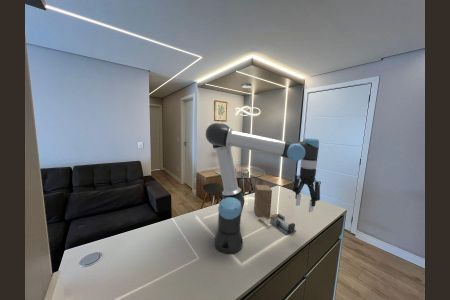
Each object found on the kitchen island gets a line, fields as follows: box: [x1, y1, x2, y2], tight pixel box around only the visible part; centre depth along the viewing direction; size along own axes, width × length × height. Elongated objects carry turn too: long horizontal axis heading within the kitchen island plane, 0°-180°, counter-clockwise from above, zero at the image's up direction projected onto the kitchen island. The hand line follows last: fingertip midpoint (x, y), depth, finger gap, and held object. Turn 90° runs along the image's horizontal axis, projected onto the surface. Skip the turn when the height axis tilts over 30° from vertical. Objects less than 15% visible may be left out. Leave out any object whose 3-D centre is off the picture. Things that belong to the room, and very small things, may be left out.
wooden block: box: [253, 184, 273, 218], centre depth 120 cm, size 10×10×20 cm
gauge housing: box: [256, 213, 297, 236], centre depth 106 cm, size 14×20×5 cm
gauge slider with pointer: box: [265, 213, 296, 234], centre depth 103 cm, size 11×15×5 cm
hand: (304, 208), depth 91 cm, fingers open, 7 cm apart
